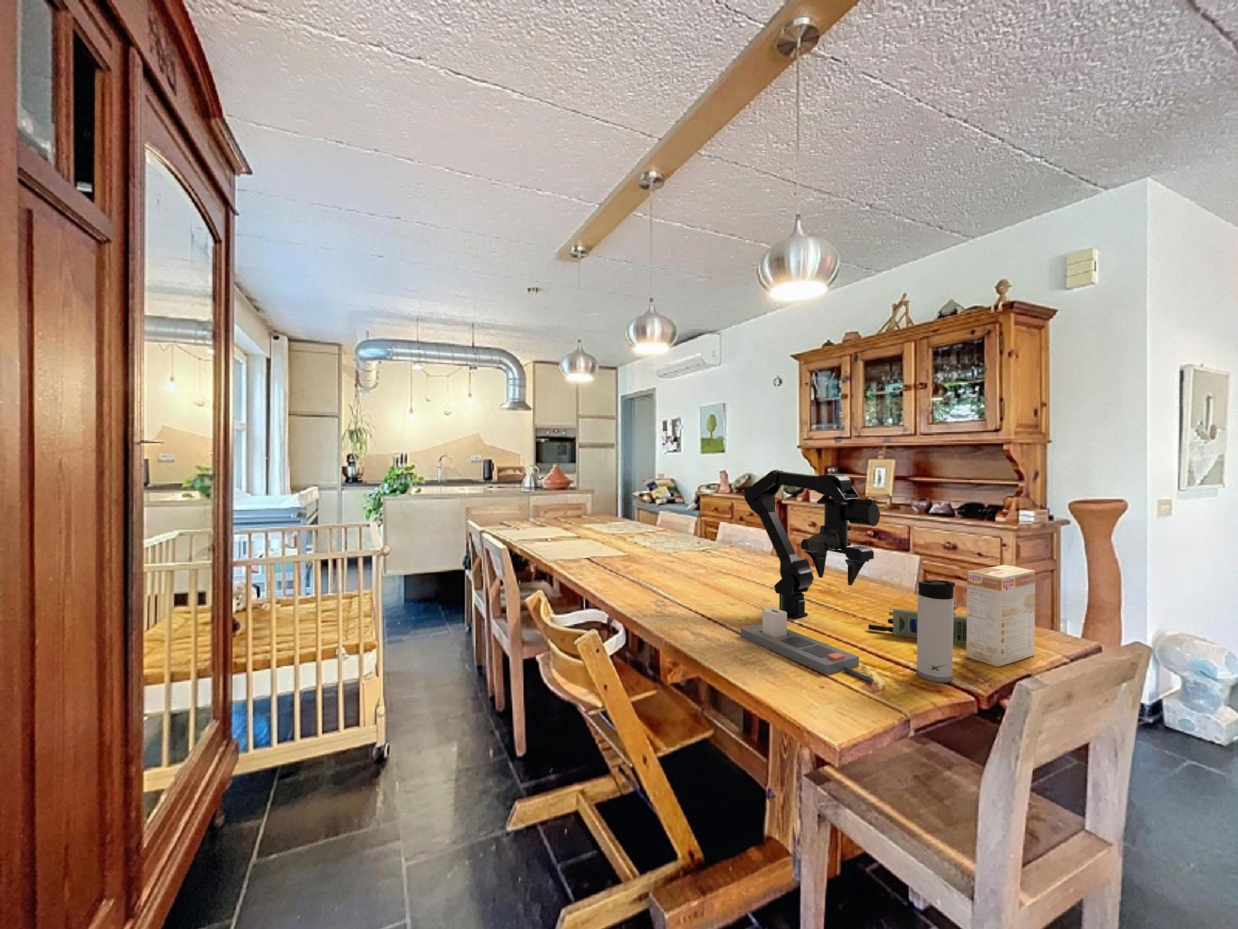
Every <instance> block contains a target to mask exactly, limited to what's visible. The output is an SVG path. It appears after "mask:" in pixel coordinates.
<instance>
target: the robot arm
mask: <svg viewBox="0 0 1238 929" xmlns="http://www.w3.org/2000/svg"><path fill="white" fill-rule="evenodd" d="M782 486H786V487H792V488H799V489H807V490H811V491H814V492H816V493H817V494H820V495H822V496H821V497H820V498H819V499H818V500H817V501H816V504H818V505H824V513H823V514H824V516H823V517H824V518H823V520H824V522H823V524H822V525H820V528H819V532H817V533H815V534H813V535H812V536H810V537H809V538H803V539H802V540H801V542H800V549H801V550H804V553H805V554H807V555H809V557H810V558H811V559H812V561H813V565H814V568H815V570H816V573H817V576H818V578H820V579H822V578H823V577H824V574H825V568H826V562H827V561H826V560H827V555H828V554H827V553H828V552H833V553H838V554H844V555H845V557H846V559H844V561H845V563H846V565H847V585H848V586H852V585H853V584H854V583H855V580H856V578H858V577H857V576H858V575H859V573H860V571H861V569H862V568H863V567H864V566H865V564H866V563H867V562H869V561H870V560H874V559H875V552H874V550H873V549H872V547H870V546H869V547H868V546H862V545H855V546H853V545H852V544H851V543H852V542H851V541H848V534H849V532H848V531H851V530H852V526H851V525H849V523H850V524H852V525H858V526H865V527H877V525H878V524H879V522H880V520H881V518H880V517H881V511H880V509H879V506H878V504H876V503H877V502H876V498H861V496H860V495H859V494H858V492H857V490H856V489H855V488H854V486H853V482H852V481H851V479H850V477H849V475H847V474H844V473H843V474H841V473H840V474H839V473H837V474H822V475H813V474H806V473H797V472H790V471H789V472H788V471H784V470H770V471H769V472H768V473H767V474H766V475H765V476H764V477H762V478H760V479H758V481H756V482H754V483H753V484H752V485H750V486H748V487H747V488H746V489H745V491H744V494H743V497H744V500H745V502H746V504H747V505H748V507H749V508H750V510H751V511H753V512H754V513H755V514H756V515H757V516H758V517H759V518H760V520H761V523H762V525H763V527H764V530H765V531H766V534H767V536H768V538H769V541H770V543H771V545H772V546H773V549H774V552H775V553H776V555H777V558H778V560H779V574H780V578H781V579H779V581H778V582H776V583H775V584H774V585H773V588H774V591H775V594H778V595H779V597H778V598H779V599H778V601H779V605H778V609H779V610H782V611H785V612H787V618H790V619H795V618H801V617H806V616H807V617H808V616H809V614H808V612H806V600H805V594H804V593H807V592H808V591H809V588H810V586H812V584H813V582H814V580H815V577H814V574H813V573H814V570H813V569H812V567H811V565H810V563H809V560H808V559H807V558H802V559H801V558H800V557H799V556H798V554H797V553H796V551H795V549H794V547H793V545H792V542H791V540H790V538H789V537H788V534H787V532H786V529H785V528H784V526H783V524H782V521H781V520H780V517H779V515H778V514H777V512H776V511H777V510H776V498H775V495H777V493H779V492H780V489H781V487H782ZM848 522H849V523H848ZM851 545H852V546H851Z"/></svg>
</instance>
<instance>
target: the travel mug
mask: <svg viewBox="0 0 1238 929" xmlns="http://www.w3.org/2000/svg"><path fill="white" fill-rule="evenodd" d="M917 586H918V592H917V596H918V597H917V611H918V622H917V638H916V642H917V643H916V674H917V675H918V676H919V677H920V678H922V679H924V680H927V681H930V682H935V683H940V684H941V683H949V682H952V680H953V668H954V666H953V664H954V663H953V662H954V661H953V660H954V659H953V658H954V652H953V651H954V643H953V609H954V607H955V606H954V602H955V601H954V587H956V582H954V581H951V580H950V581H949V580H941V579H930V580H929V579H928V580H924V581H918V585H917Z"/></svg>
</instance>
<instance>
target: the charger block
mask: <svg viewBox="0 0 1238 929" xmlns="http://www.w3.org/2000/svg"><path fill="white" fill-rule="evenodd" d="M762 624H763V629H762V633H763V634H766V635H768V636H771V637H773V638H778V637H783V636H787V629H788V617H787V612H785V611H782V610H779V608H777V607H776V608H775V607H772V608H767V609H762Z"/></svg>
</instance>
